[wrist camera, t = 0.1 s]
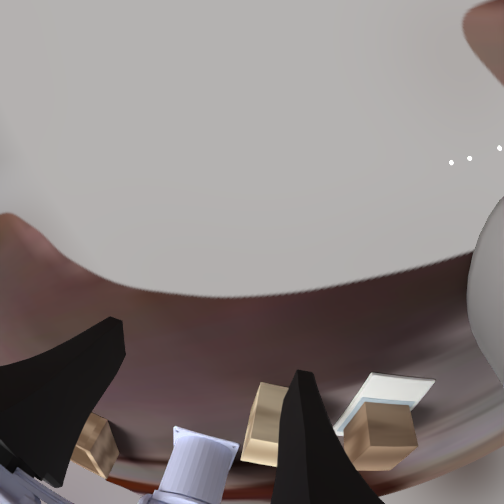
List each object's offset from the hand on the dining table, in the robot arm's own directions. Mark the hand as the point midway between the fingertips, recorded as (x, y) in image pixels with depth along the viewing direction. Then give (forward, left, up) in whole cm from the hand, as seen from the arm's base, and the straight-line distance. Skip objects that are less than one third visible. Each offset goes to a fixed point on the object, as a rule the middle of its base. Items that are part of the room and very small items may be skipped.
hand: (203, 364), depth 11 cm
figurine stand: (-35, +22, -10) cm, 43 cm away
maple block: (-13, -6, -10) cm, 18 cm away
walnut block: (-13, -16, -9) cm, 23 cm away
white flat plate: (-12, -16, -10) cm, 22 cm away
